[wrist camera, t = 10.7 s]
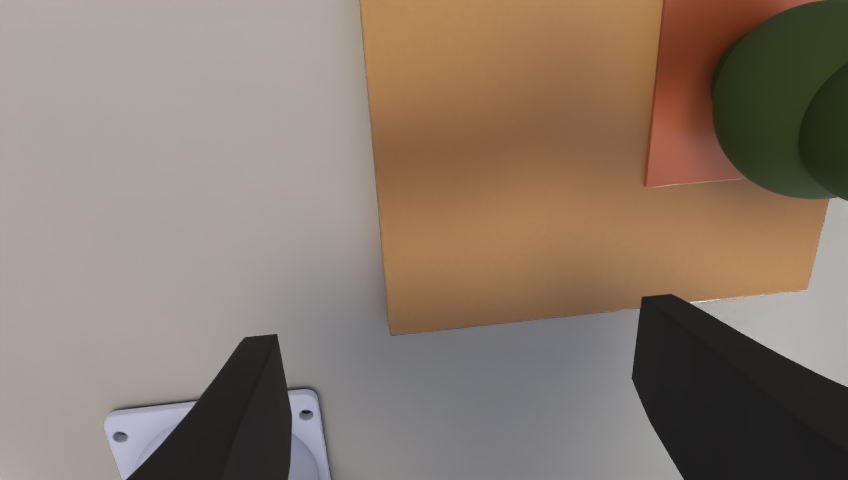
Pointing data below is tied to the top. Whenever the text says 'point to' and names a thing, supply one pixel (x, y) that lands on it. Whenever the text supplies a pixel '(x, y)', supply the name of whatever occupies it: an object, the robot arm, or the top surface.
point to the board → (565, 161)
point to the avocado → (788, 102)
